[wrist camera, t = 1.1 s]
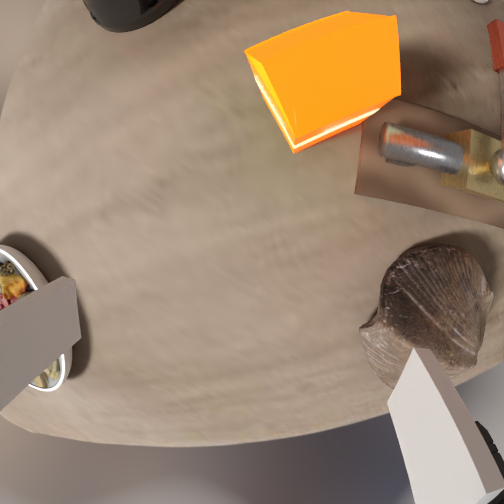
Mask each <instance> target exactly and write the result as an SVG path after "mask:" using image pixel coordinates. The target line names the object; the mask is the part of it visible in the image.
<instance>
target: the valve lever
mask: <svg viewBox="0 0 504 504" xmlns="http://www.w3.org/2000/svg"><path fill="white" fill-rule="evenodd" d="M487 27H488V32H489V38H490V44H491V51H492V58H493V67H494V71H496V72H498V73H499V79H500V93H501V149H498V150H497V151H496V152H495V153H494V154H493V157H492V161H491V169H492V173H493V176H494V178H495V180H496V181H497V183H498V184H500V185H502V186H504V23H502V22H501V21H499V20H497V19H495V20H494V21H492V22H491V23H489V24H488V25H487Z"/></svg>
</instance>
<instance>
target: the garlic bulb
mask: <svg viewBox="0 0 504 504" xmlns="http://www.w3.org/2000/svg"><path fill="white" fill-rule="evenodd" d="M473 1H475V2H477V3H486V2H487V1H488V0H473Z"/></svg>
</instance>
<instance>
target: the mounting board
mask: <svg viewBox="0 0 504 504" xmlns="http://www.w3.org/2000/svg"><path fill="white" fill-rule="evenodd" d="M384 122H390V123H394V124H398V125H402V126H406V127H409V128H413V129H417V130H420V131H423V132H427V133H430V134H433V135H437V136H440V137H443V138H445V134H450V133H454V132H459V131H463V130H468V129H473V130H475V131H478V132H480V133H483V134H485V135H487V136H490V137H492V138H494V139H497V140H499V141H501V137H500V136H498V135H495V134H493V133H491V132H489V131H486V130H484V129H482V128H479V127H477V126H474V125H472V124H469V123H467V122H464V121H462V120H459V119H456V118H454V117H451V116H448V115H445V114H442V113H439V112H437V111H433V110H430V109H427V108H424V107H421V106H418V105H414V104H411V103H407V102H404V101H400V100H397V99H391V100H390V101H389V102H387V103H386V104H385V105H383V106H382V107H381V108H380V109H379V110H378V111H376V112H375V113H374V114H372V115H370V116H369V117H368V118H366V119H365V120H364V121H363V125H362V136H361V145H360V155H359V163H358V171H357V179H356V186H355V193H354V194H357V195H363V196H368V197H373V198H379V199H384V200H389V201H394V202H399V203H403V204H408V205H413V206H417V207H422V208H426V209H431V210H435V211H439V212H443V213H447V214H451V215H456V216H459V217H463V218H467V219H471V220H475V221H479V222H482V223H486V224H490V225H493V226H497V227H500V228H503V229H504V202H501V201H496V200H491V199H486V198H482V197H479V196H475V195H472V194H469V193H466V192H462V191H459V190H455V189H452V188H448V187H445V186H441V185H440V180H441V172H440V171H436V170H433V169H429V168H425V167H421V166H418V165H416V166H408V167H403V166H399V165H395V164H390V163H386V162H385V160H386V158H384V157H381V156H380V155H379V150H378V143H379V135H380V131H381V128H382V125H383V123H384Z"/></svg>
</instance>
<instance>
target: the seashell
mask: <svg viewBox="0 0 504 504" xmlns="http://www.w3.org/2000/svg"><path fill="white" fill-rule="evenodd" d="M493 299H494V293H493V291H492V289H491V287H490V286H489V284H488V283H487V280H486V278H485V275H484V272H483V270H482V268H481V266H480V264H479V263H478V262H477V260H476V259H475V258H474V257H473V256H472V255H471V254H469V253H468V252H467V251H465V250H463V249H461V248H458V247H456V246H452V245H443V244H432V245H428V246H422V247H417V248H414V249H410V250H408V251H406V252H405V253H404V254H403V255H401V256H400V257H399V258H398V259H397V260H396V261H394V262H393V264H392V265H391V266H390V267H389V268H388V269H387V271H386V273H385V275H384V278H383V280H382V283H381V289H380V297H379V308H378V311H377V314H376V316H375V317H374V318H373V319H372V320H370V321H368V322H367V323H366V324H364V325H362V326H361V327H359V331H360V334H361V338H362V342H363V346H364V350H365V353H366V357H367V359H368V361H369V363H370V365H371V367H372V369H373V370H374V372H375V373H376V375H377V376H378V377H379V378H380V379H381V380H382V381H383V382H384V383H385V384H387V385H388V386H389V387H391V388H392V389H394V388H395V386H396V384H397V382H398V380H399V378H400V376H401V374H402V372H403V370H404V368H405V366H406V363H407V361H408V359H409V357H410V354H411V352H412V350H413V348H425V349H430V350H431V351H432V353H433V354H434V356H435V357H436V359H437V360H438V362H439V363H440V365H441V367H442V368H443V370H444V371H445V373H446V374H447V376H448V378H449V379H451V378H453V377H455V376H457V375H459V374H461V373H462V372H464V371H465V370H468V369H471V368H473V367H474V366H475V365H476V363H477V353H478V351H479V350H480V348H481V346H482V342H483V337H484V331H485V325H486V319H487V315H488V312H489V310H490V308H491V305H492V302H493Z"/></svg>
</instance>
